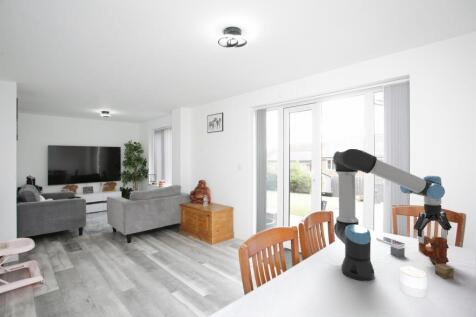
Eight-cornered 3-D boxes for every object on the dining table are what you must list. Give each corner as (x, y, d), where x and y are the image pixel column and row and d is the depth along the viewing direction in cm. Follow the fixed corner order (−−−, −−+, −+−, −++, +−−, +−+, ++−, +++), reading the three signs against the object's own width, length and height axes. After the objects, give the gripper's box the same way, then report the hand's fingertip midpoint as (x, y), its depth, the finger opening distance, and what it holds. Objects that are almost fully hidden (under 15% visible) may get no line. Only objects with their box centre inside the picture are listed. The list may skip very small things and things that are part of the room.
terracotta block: (424, 254, 143) (424, 246, 143) (418, 251, 148) (418, 243, 148) (432, 254, 142) (432, 246, 142) (427, 251, 147) (427, 243, 147)
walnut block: (444, 279, 116) (444, 269, 115) (435, 274, 120) (435, 264, 120) (453, 278, 116) (454, 268, 116) (444, 273, 121) (444, 263, 121)
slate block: (398, 257, 140) (398, 249, 139) (390, 254, 144) (390, 246, 144) (404, 256, 141) (404, 247, 141) (396, 252, 146) (396, 244, 146)
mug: (441, 260, 135) (442, 234, 135) (453, 267, 127) (454, 239, 126) (414, 259, 136) (415, 233, 136) (424, 265, 128) (424, 238, 128)
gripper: (416, 206, 126) (417, 245, 127) (460, 204, 128) (460, 243, 129) (405, 203, 134) (406, 240, 134) (447, 201, 136) (447, 238, 136)
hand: (432, 242), depth 131 cm, fingers closed on mug, 13 cm apart
